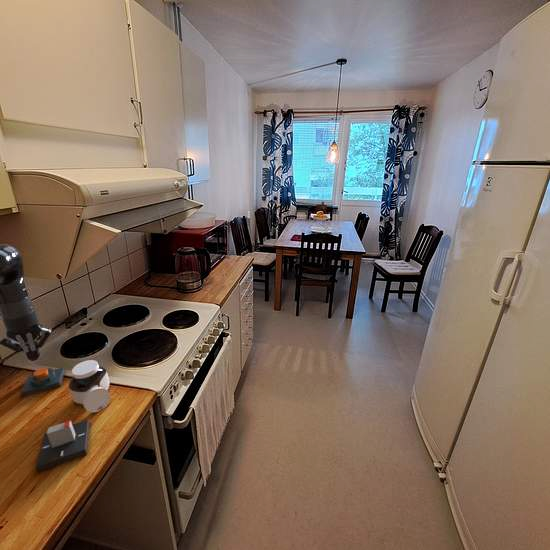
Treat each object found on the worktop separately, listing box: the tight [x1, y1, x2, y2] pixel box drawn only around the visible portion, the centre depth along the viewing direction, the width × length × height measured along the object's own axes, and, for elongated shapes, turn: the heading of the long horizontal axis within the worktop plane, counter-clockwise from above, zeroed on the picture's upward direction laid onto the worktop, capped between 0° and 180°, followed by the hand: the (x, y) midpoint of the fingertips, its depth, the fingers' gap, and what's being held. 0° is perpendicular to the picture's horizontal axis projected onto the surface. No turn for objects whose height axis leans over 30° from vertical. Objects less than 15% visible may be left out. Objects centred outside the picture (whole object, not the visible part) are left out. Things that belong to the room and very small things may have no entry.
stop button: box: [33, 367, 49, 380], centre depth 94 cm, size 4×4×2 cm
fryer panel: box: [35, 419, 91, 473], centre depth 75 cm, size 10×10×3 cm
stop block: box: [20, 367, 65, 397], centre depth 95 cm, size 10×8×4 cm
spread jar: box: [68, 359, 111, 413], centre depth 88 cm, size 12×11×12 cm
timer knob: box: [46, 420, 75, 448], centre depth 73 cm, size 5×2×5 cm, turn 117°
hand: (34, 359), depth 91 cm, fingers closed
